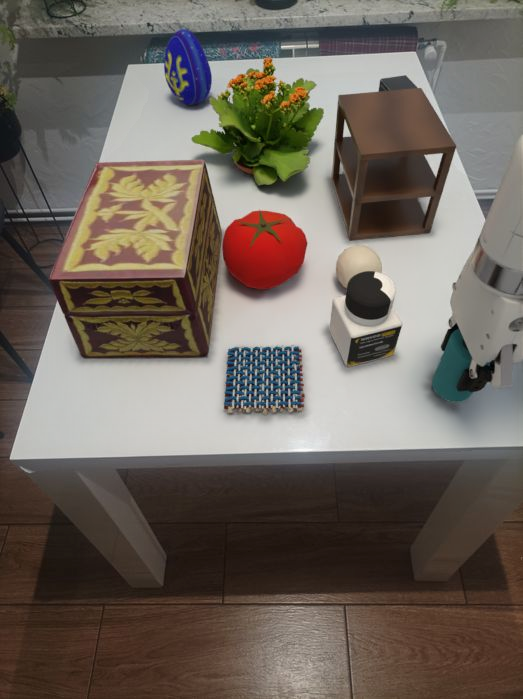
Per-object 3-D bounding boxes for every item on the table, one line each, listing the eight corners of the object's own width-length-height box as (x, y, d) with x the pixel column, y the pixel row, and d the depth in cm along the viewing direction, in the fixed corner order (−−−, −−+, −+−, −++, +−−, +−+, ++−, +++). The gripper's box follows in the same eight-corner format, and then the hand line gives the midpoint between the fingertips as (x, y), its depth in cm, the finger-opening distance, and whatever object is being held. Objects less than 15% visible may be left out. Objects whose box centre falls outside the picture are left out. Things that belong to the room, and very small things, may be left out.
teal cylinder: (465, 366, 64) (487, 322, 56) (479, 400, 60) (505, 358, 53) (426, 370, 64) (444, 327, 56) (438, 404, 60) (459, 362, 53)
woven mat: (305, 415, 62) (305, 407, 60) (224, 415, 62) (222, 408, 60) (302, 350, 68) (302, 342, 66) (228, 351, 68) (227, 343, 67)
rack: (402, 172, 92) (421, 87, 79) (429, 233, 81) (456, 145, 69) (331, 179, 92) (338, 94, 79) (349, 240, 81) (361, 154, 68)
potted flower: (179, 187, 93) (160, 95, 79) (215, 124, 106) (204, 37, 92) (305, 201, 88) (309, 107, 74) (325, 134, 102) (332, 44, 88)
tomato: (222, 301, 74) (214, 250, 66) (227, 248, 81) (220, 196, 73) (307, 300, 74) (310, 248, 65) (305, 246, 81) (307, 193, 72)
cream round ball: (365, 262, 78) (371, 230, 72) (384, 293, 74) (392, 261, 68) (327, 272, 77) (330, 240, 72) (344, 303, 73) (348, 272, 67)
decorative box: (119, 233, 85) (91, 157, 73) (222, 231, 84) (211, 153, 72) (81, 358, 69) (37, 286, 57) (208, 357, 68) (190, 284, 56)
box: (411, 144, 98) (423, 91, 89) (385, 148, 97) (394, 96, 89) (396, 125, 102) (406, 73, 94) (371, 129, 102) (379, 78, 93)
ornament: (163, 102, 113) (148, 31, 101) (191, 87, 117) (180, 17, 105) (194, 116, 109) (183, 43, 97) (223, 100, 113) (215, 28, 100)
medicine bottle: (346, 368, 66) (356, 311, 56) (328, 330, 70) (334, 271, 60) (393, 356, 67) (411, 298, 57) (373, 319, 71) (386, 259, 61)
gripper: (602, 325, 39) (518, 426, 54) (518, 199, 49) (467, 313, 64) (512, 334, 39) (453, 433, 54) (446, 206, 49) (412, 318, 64)
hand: (461, 367), depth 59 cm, fingers closed on teal cylinder, 5 cm apart
